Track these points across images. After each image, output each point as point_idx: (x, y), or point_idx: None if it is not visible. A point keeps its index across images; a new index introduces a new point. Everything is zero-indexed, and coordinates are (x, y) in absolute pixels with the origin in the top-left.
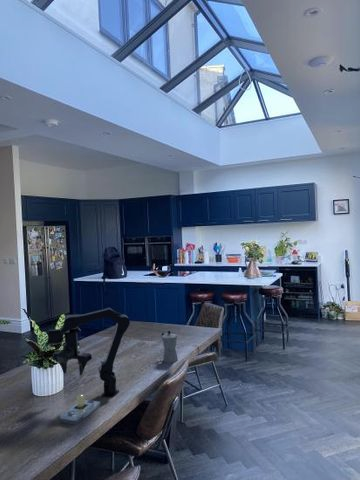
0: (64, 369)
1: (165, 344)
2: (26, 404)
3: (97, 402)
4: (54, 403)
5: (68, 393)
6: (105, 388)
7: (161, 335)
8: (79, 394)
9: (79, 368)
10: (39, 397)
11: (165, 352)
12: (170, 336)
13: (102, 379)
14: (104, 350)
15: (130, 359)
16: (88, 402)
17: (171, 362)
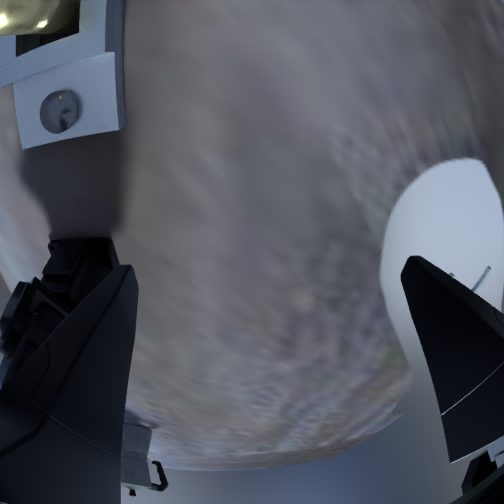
0: (439, 300)
1: (132, 467)
2: (478, 62)
3: (29, 135)
4: (350, 65)
5: (333, 208)
6: (60, 265)
7: (166, 484)
8: (4, 8)
9: (68, 359)
10: (459, 139)
11: (135, 448)
12: (121, 484)
13: (42, 305)
14: (336, 424)
15: (239, 426)
16: (57, 95)
17: None
